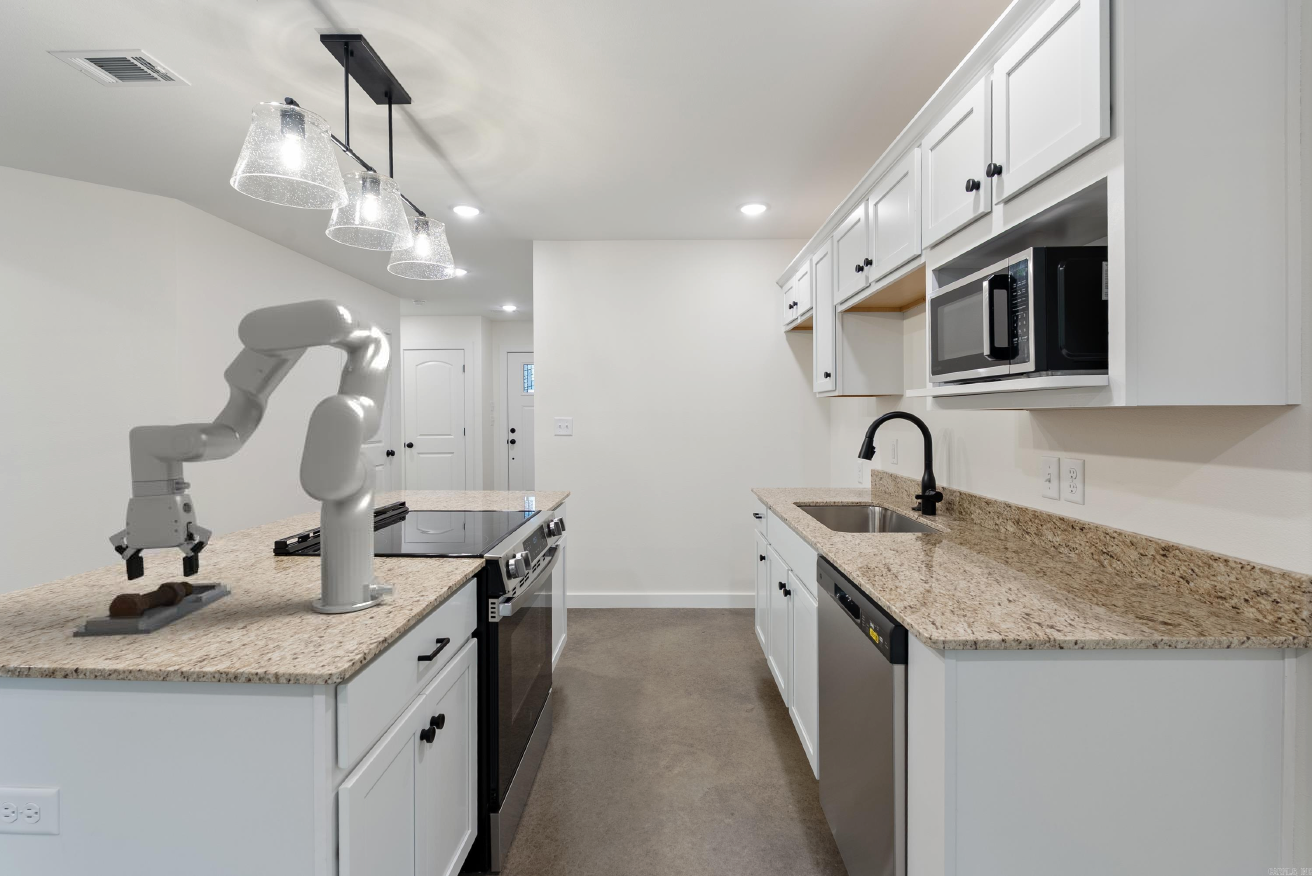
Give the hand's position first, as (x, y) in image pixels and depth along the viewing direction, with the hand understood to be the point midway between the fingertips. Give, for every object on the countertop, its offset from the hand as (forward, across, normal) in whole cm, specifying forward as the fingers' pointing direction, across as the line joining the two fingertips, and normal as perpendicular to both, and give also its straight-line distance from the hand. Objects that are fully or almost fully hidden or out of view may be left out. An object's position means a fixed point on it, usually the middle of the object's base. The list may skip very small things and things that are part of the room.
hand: (163, 576), depth 109 cm
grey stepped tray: (+7, +1, 0) cm, 7 cm away
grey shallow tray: (+7, +1, 0) cm, 7 cm away
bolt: (+6, +1, +1) cm, 7 cm away
